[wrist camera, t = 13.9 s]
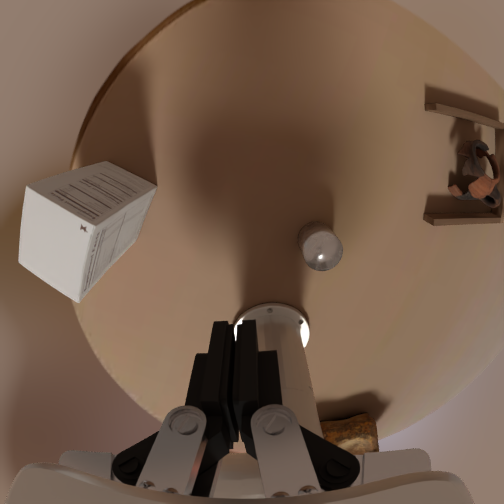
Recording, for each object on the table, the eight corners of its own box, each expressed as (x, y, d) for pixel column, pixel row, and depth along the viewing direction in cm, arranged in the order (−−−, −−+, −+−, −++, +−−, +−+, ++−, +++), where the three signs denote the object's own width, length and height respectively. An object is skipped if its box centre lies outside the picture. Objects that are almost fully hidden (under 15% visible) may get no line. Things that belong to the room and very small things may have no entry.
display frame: (493, 217, 36) (503, 222, 33) (423, 219, 37) (433, 225, 34) (497, 124, 29) (508, 125, 26) (424, 104, 30) (436, 103, 27)
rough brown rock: (394, 404, 57) (414, 445, 43) (362, 440, 62) (374, 478, 47) (321, 399, 55) (333, 450, 40) (291, 436, 59) (297, 482, 45)
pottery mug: (433, 181, 35) (465, 161, 27) (444, 144, 36) (472, 122, 28) (477, 227, 34) (510, 216, 26) (485, 187, 36) (514, 173, 27)
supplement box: (105, 158, 33) (25, 180, 18) (159, 184, 35) (96, 221, 19) (87, 217, 36) (15, 263, 21) (136, 243, 38) (78, 306, 23)
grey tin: (332, 253, 39) (341, 269, 34) (298, 256, 39) (304, 272, 34) (332, 220, 37) (343, 232, 32) (297, 222, 37) (303, 235, 32)
